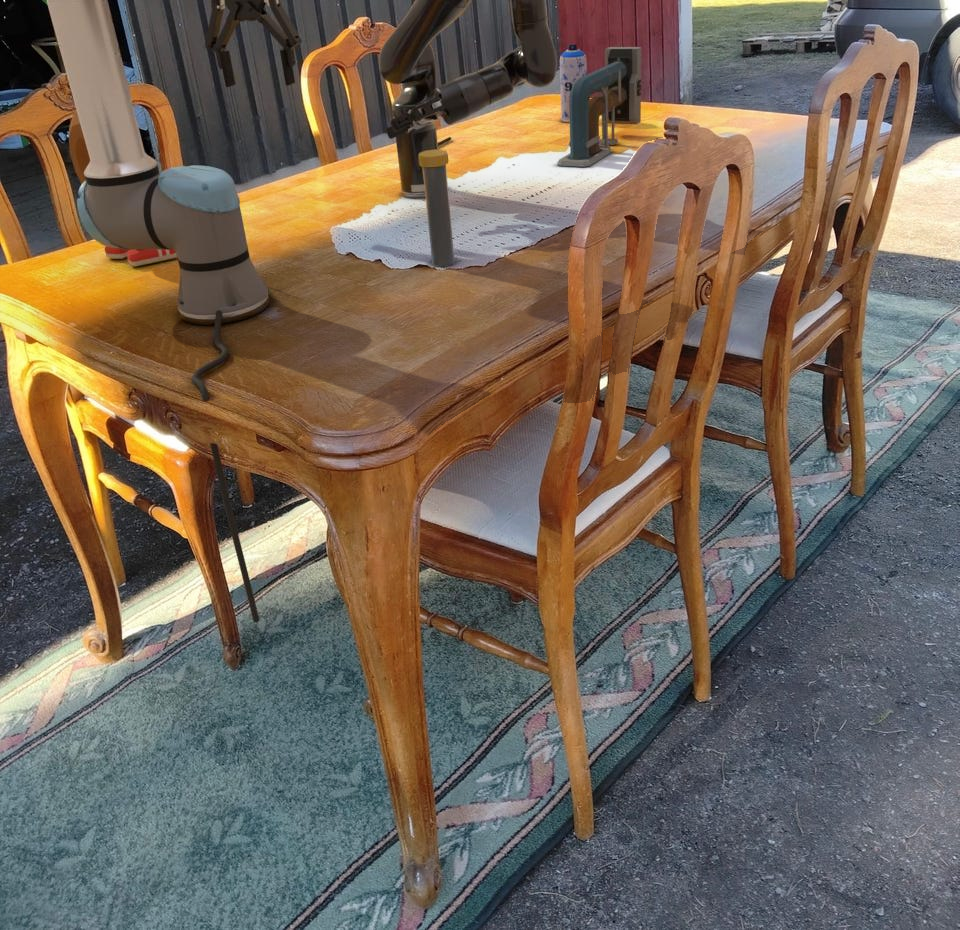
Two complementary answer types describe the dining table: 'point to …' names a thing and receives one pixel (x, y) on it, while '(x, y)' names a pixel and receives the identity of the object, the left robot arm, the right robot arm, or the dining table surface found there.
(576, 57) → the aerosol can
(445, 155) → the lid
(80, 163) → the toy
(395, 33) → the right robot arm
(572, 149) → the clamp
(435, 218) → the tube
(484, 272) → the dining table surface
